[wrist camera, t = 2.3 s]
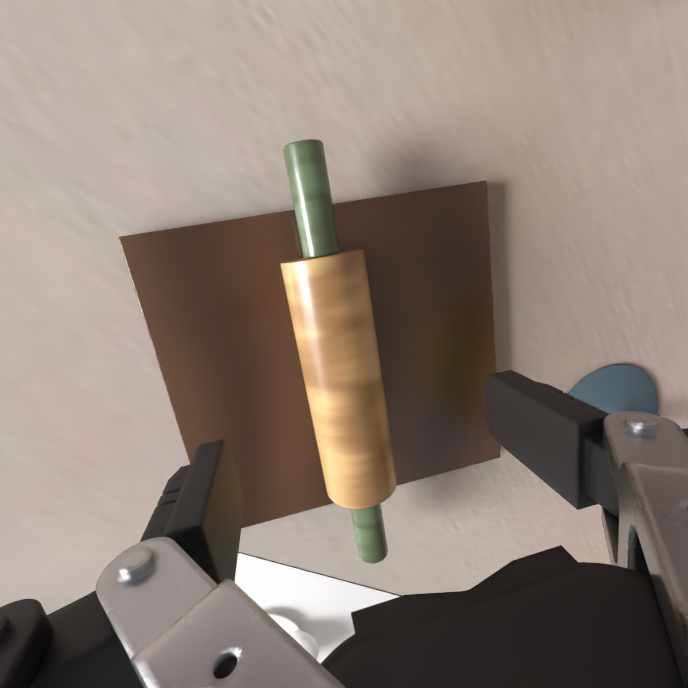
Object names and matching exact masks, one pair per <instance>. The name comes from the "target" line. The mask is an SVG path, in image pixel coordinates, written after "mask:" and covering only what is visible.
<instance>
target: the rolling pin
mask: <svg viewBox="0 0 688 688" xmlns="http://www.w3.org/2000/svg"><path fill="white" fill-rule="evenodd" d="M283 151H284V156H285V161H286V167H287V172H288V177H289V183H290V188H291V193H292V199H293V204H294V209H295V215H296V220H297V225H298V231H299V236H300V241H301V247H302V252H303V257H304V258H301V259H295V260H291V261H286V262H282V263H281V269H282V274H283V279H284V284H285V289H286V294H287V299H288V303H289V308H290V313H291V318H292V323H293V328H294V333H295V338H296V343H297V347H298V352H299V357H300V362H301V367H302V372H303V377H304V382H305V386H306V391H307V396H308V401H309V406H310V411H311V416H312V421H313V426H314V430H315V435H316V440H317V445H318V450H319V455H320V460H321V465H322V470H323V474H324V479H325V484H326V489H327V493H328V496H329V498H330V499H331V500H332V501H333V502H334V503H336V504H337V505H339V506H342V507H345V508H350V509H351V514H352V519H353V525H354V530H355V535H356V541H357V546H358V552H359V556H360V558H361V559H362V560H363V561H365V562H367V563H378V562H380V561H382V560H383V559H384V558H385V557H386V555H387V552H388V548H387V542H386V536H385V529H384V523H383V517H382V510H381V504H380V503H381V502H383V501H385V500H386V499H387V498H389V497H390V496H391V494H392V493H393V492H394V490H395V488H396V484H397V479H396V472H395V465H394V458H393V451H392V444H391V437H390V429H389V422H388V415H387V408H386V401H385V394H384V387H383V380H382V373H381V366H380V359H379V352H378V345H377V338H376V331H375V324H374V317H373V310H372V303H371V296H370V289H369V282H368V275H367V268H366V261H365V254H364V249H357V250H349V251H342V252H340V248H339V241H338V235H337V229H336V223H335V216H334V210H333V204H332V198H331V191H330V185H329V179H328V173H327V166H326V160H325V154H324V148H323V143H322V141H320V140H314V139H310V140H301V141H296V142H293V143H290V144H288V145H286V146H285V147H284V149H283Z"/></svg>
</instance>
